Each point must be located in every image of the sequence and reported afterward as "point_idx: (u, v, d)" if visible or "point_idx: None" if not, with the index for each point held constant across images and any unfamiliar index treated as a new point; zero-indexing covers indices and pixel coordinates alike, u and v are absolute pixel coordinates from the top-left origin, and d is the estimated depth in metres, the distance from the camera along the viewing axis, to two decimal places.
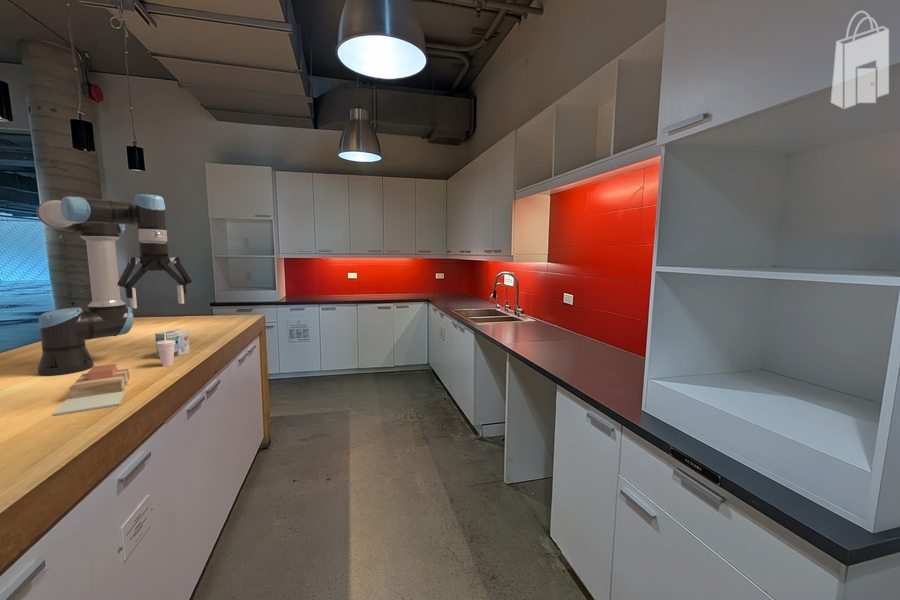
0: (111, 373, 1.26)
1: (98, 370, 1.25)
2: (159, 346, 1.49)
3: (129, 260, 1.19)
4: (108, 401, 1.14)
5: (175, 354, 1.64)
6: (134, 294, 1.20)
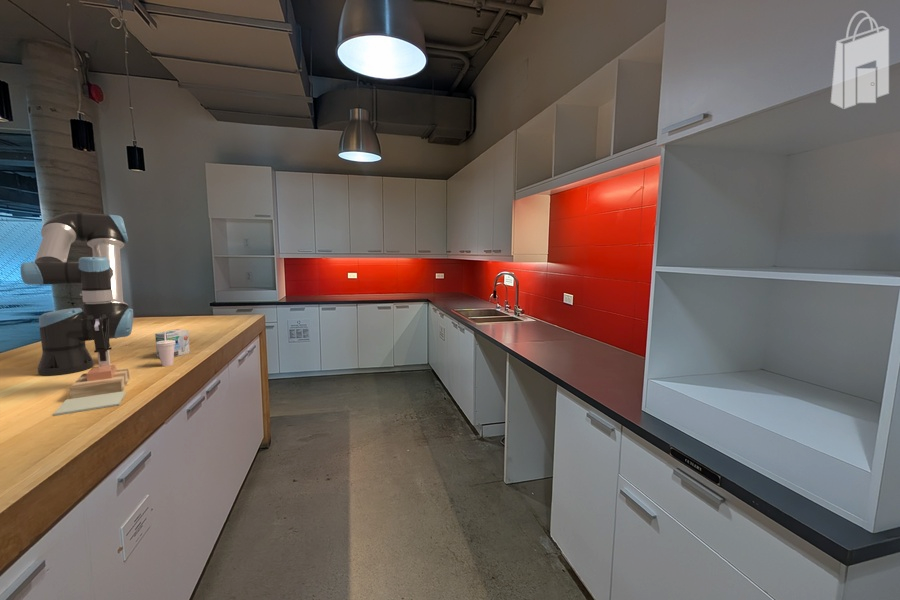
0: (110, 374, 1.25)
1: (97, 371, 1.23)
2: (159, 346, 1.49)
3: None
4: (108, 401, 1.14)
5: (175, 354, 1.64)
6: None
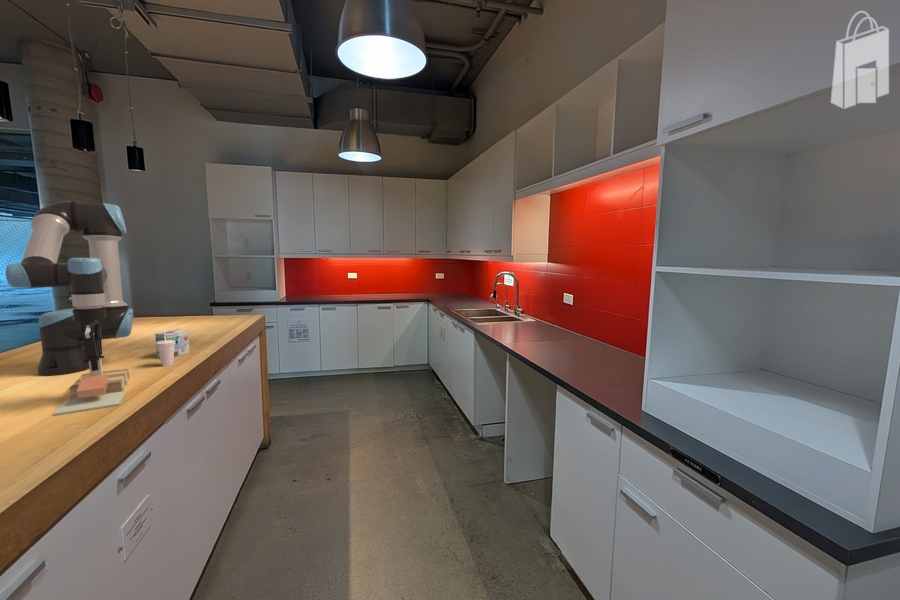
0: (103, 391, 1.15)
1: (88, 387, 1.13)
2: (159, 346, 1.49)
3: None
4: (108, 401, 1.14)
5: (175, 354, 1.64)
6: None
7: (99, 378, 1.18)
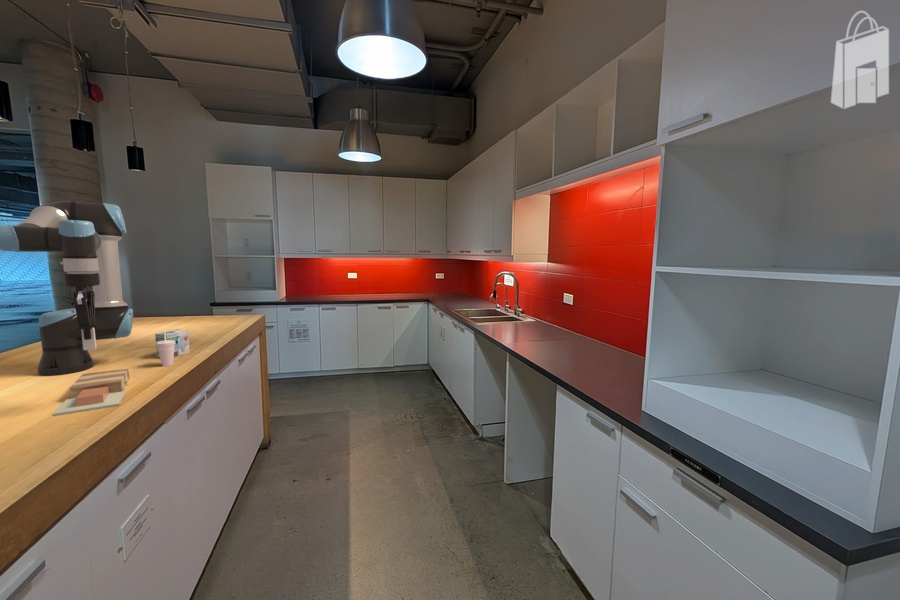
0: (102, 398, 1.13)
1: (87, 395, 1.12)
2: (159, 346, 1.49)
3: None
4: (108, 401, 1.14)
5: (175, 354, 1.64)
6: None
7: (99, 389, 1.17)
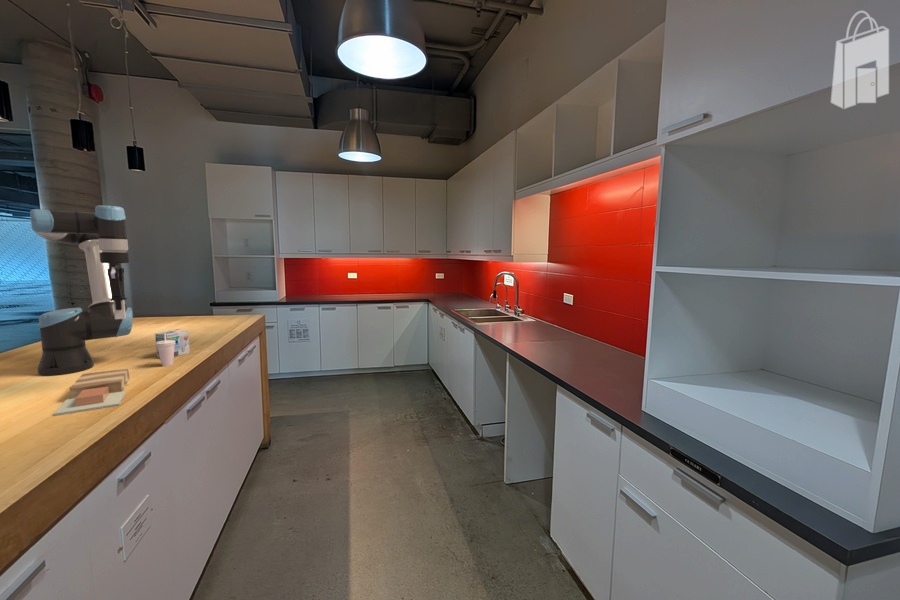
0: (102, 398, 1.13)
1: (87, 395, 1.12)
2: (159, 346, 1.49)
3: None
4: (108, 401, 1.14)
5: (175, 354, 1.64)
6: (114, 306, 1.31)
7: (99, 389, 1.17)
